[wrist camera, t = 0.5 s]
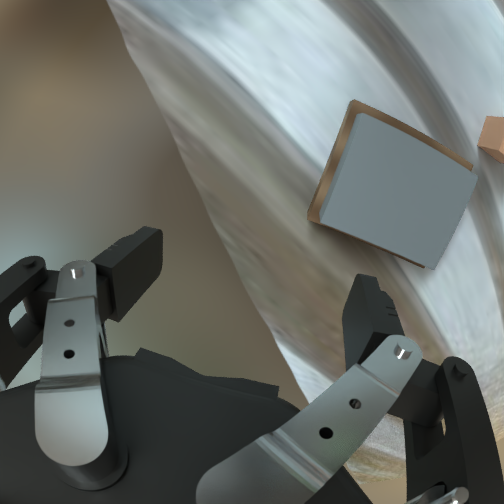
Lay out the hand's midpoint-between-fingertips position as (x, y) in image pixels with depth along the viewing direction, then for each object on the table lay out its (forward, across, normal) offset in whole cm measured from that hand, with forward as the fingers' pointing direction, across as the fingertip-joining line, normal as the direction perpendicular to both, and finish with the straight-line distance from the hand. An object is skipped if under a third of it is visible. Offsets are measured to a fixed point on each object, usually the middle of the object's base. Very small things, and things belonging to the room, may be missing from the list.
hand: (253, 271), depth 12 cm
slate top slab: (+25, -13, -1) cm, 29 cm away
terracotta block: (+29, -28, -12) cm, 42 cm away
